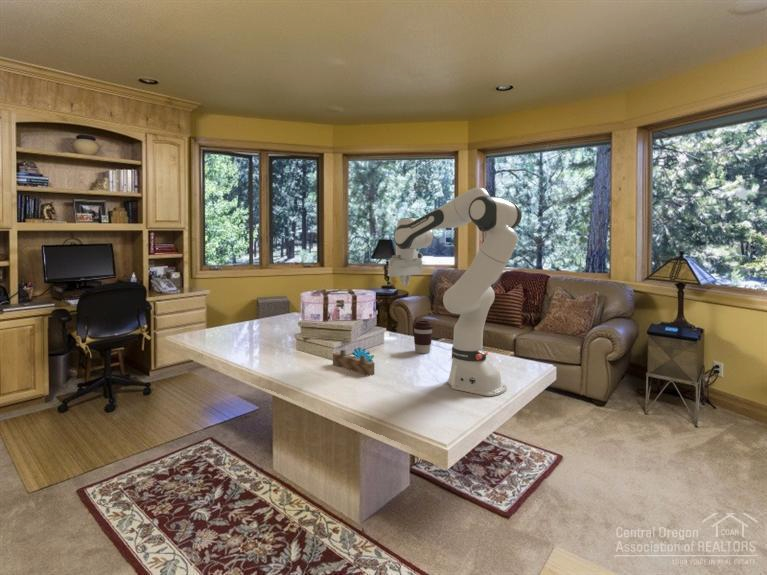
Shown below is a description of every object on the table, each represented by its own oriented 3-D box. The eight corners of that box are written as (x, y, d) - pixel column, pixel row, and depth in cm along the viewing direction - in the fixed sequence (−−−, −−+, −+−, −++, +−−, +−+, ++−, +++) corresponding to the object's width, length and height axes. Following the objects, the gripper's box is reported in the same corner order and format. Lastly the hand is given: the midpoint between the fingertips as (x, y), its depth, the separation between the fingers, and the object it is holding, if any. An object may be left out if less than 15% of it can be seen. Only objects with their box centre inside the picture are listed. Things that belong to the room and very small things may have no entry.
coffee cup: (408, 352, 217) (409, 322, 215) (418, 348, 225) (418, 318, 224) (427, 355, 212) (428, 324, 210) (436, 351, 220) (437, 321, 218)
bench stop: (374, 374, 183) (374, 357, 182) (369, 376, 181) (369, 359, 180) (337, 363, 198) (337, 347, 197) (332, 364, 195) (332, 349, 194)
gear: (357, 366, 188) (350, 346, 193) (351, 373, 191) (344, 353, 197) (378, 365, 194) (371, 346, 200) (372, 372, 198) (365, 353, 203)
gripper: (396, 255, 189) (395, 288, 191) (425, 254, 204) (424, 284, 206) (384, 255, 193) (384, 286, 195) (414, 253, 208) (413, 283, 210)
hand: (405, 285), depth 201 cm, fingers closed
